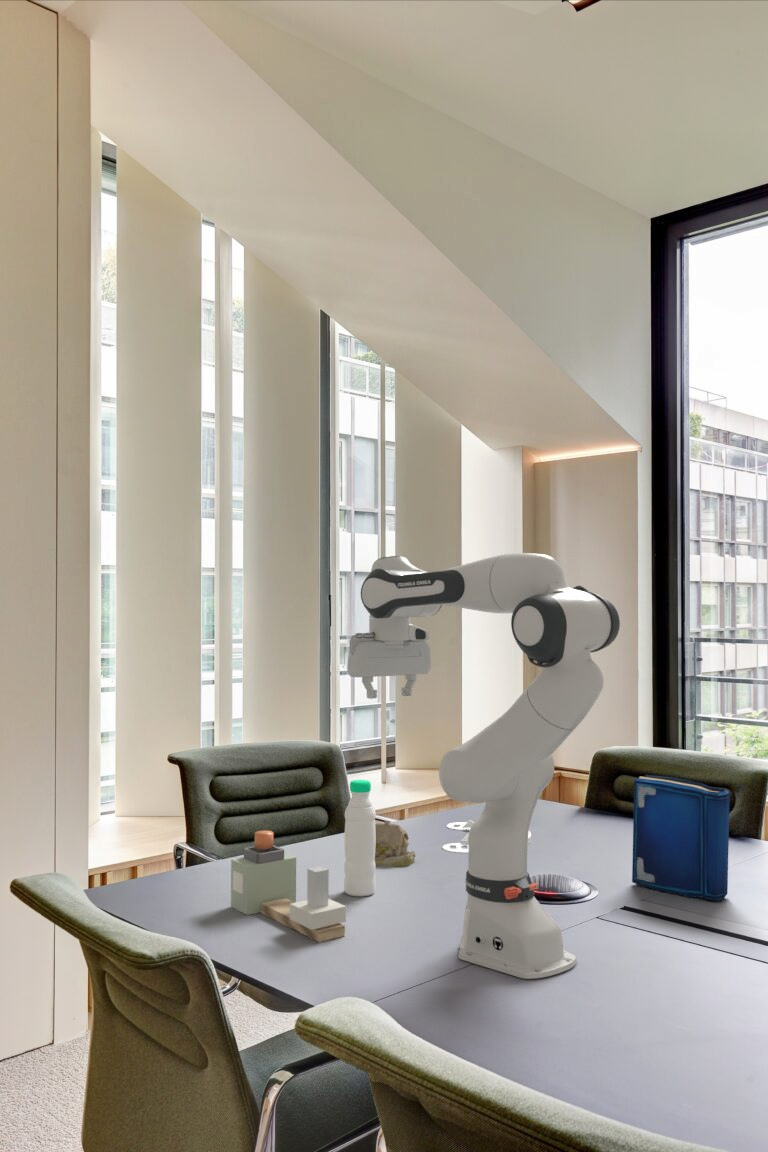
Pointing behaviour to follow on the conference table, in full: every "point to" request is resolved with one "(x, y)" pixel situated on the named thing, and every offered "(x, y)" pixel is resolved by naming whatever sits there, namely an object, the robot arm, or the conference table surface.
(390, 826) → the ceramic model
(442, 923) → the conference table surface
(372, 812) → the water bottle
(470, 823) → the cable organizer
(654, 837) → the book
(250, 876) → the end cabinet
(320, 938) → the block
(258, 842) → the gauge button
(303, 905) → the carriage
